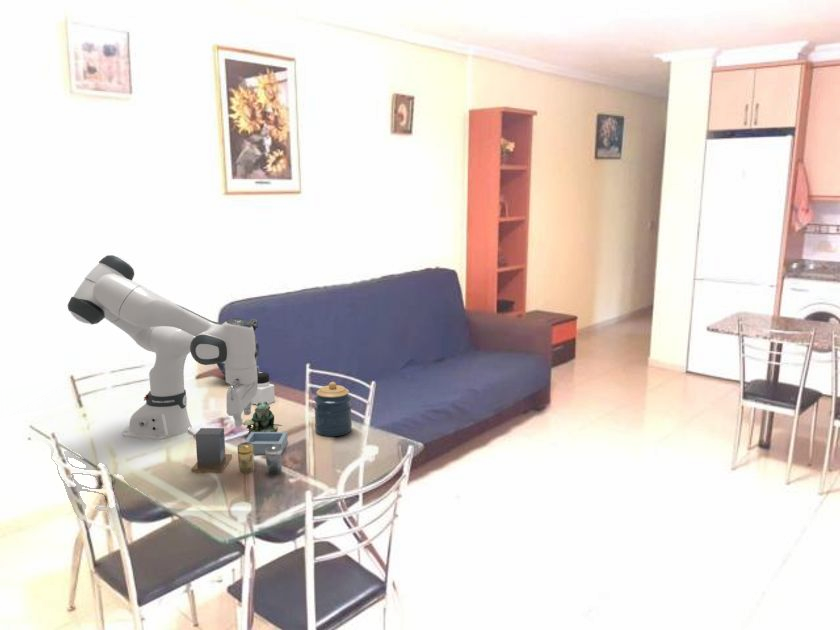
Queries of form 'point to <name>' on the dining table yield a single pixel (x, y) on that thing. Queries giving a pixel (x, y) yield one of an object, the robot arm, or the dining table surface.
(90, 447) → the dining table surface
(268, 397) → the medicine bottle
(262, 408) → the frog figurine
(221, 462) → the block
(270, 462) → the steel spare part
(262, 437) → the tray
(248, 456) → the gold lidded glass jar
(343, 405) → the canister
